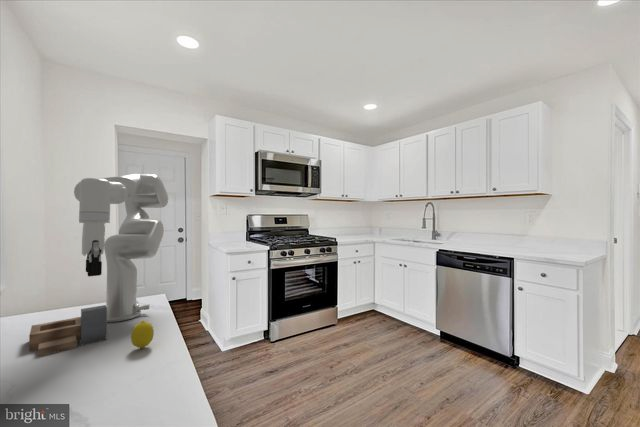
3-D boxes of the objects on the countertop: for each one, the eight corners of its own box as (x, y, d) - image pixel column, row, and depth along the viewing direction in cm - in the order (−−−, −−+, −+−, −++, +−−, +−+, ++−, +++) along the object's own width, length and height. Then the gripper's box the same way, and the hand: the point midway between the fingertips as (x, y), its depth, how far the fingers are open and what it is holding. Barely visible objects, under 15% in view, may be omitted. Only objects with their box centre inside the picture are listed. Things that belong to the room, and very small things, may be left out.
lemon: (142, 354, 78) (143, 325, 78) (125, 352, 79) (126, 323, 79) (157, 345, 83) (158, 318, 84) (142, 343, 84) (142, 317, 85)
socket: (81, 325, 99) (81, 312, 99) (85, 345, 83) (86, 330, 83) (32, 334, 91) (33, 320, 91) (27, 358, 75) (27, 342, 75)
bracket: (104, 336, 90) (105, 305, 90) (106, 339, 87) (106, 307, 87) (80, 342, 86) (80, 309, 86) (80, 345, 83) (81, 311, 83)
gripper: (77, 218, 91) (76, 271, 91) (80, 217, 78) (78, 279, 78) (106, 218, 96) (105, 269, 96) (113, 218, 83) (111, 275, 83)
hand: (93, 273), depth 87 cm, fingers open, 9 cm apart
